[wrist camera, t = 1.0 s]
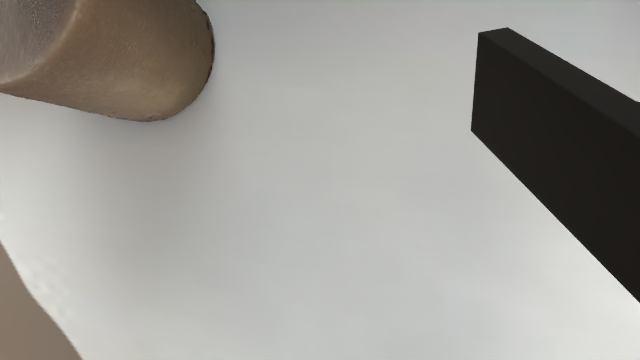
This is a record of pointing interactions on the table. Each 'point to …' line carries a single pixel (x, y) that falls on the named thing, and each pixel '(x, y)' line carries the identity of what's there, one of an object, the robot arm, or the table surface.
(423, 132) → the table surface
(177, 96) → the pillar candle
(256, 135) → the table surface
